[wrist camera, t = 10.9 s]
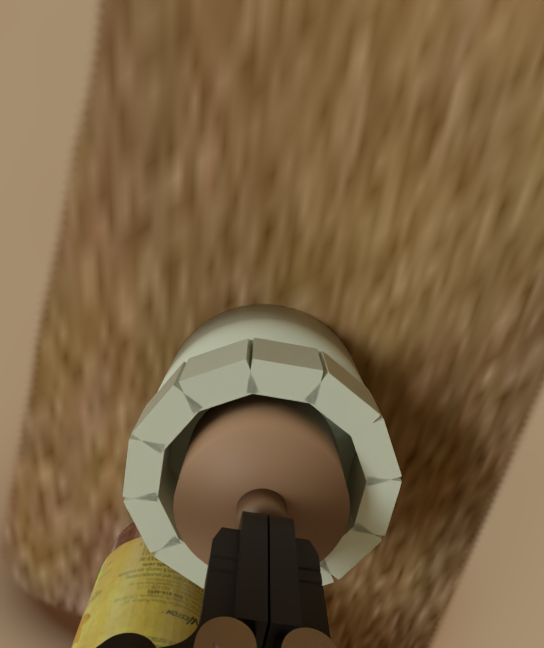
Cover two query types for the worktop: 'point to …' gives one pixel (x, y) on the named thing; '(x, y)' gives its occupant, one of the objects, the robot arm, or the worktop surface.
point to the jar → (268, 380)
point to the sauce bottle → (139, 598)
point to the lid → (261, 473)
